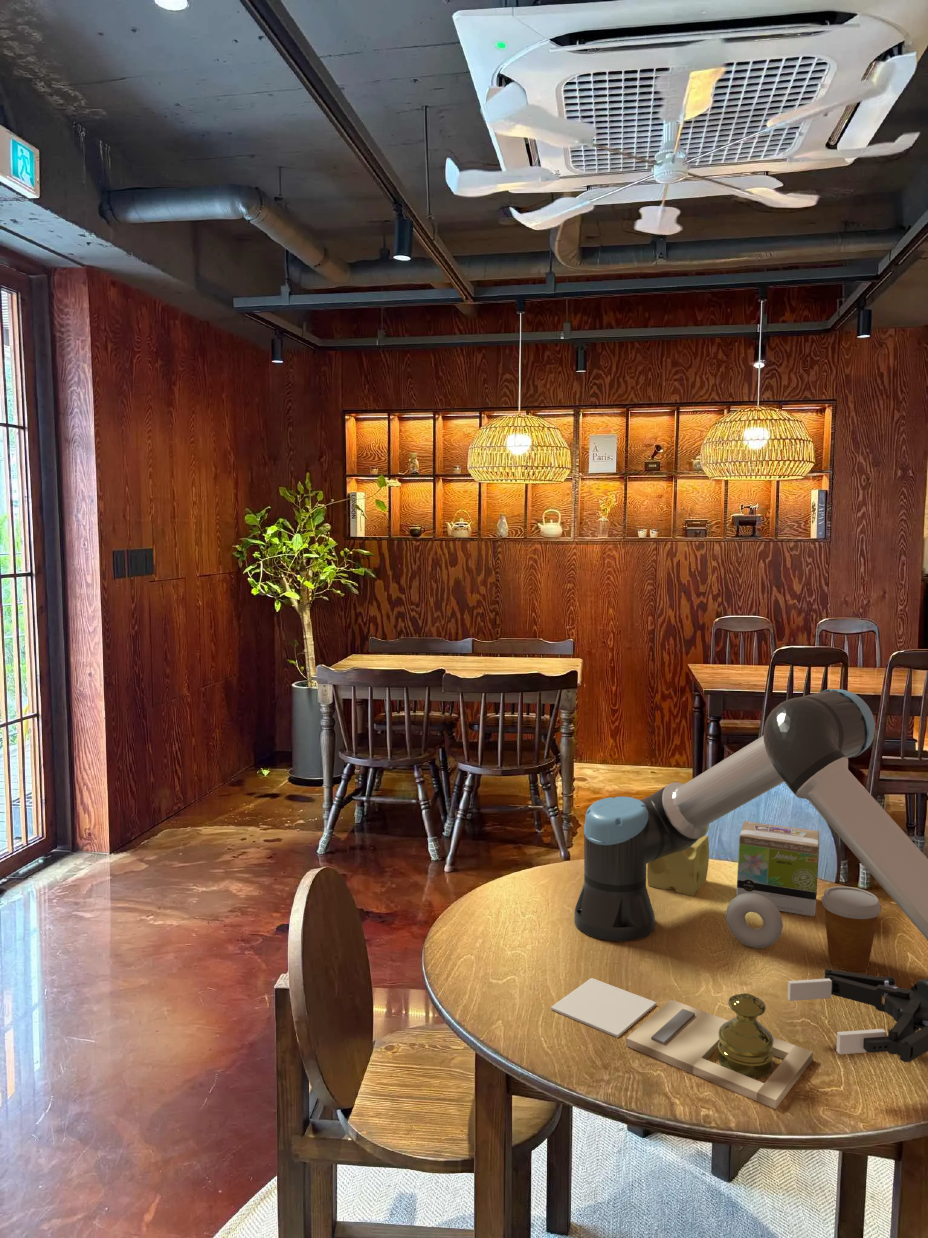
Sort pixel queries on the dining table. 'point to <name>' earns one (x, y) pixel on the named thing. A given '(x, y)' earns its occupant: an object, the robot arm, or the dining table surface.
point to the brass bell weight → (746, 1039)
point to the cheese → (681, 869)
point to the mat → (604, 1007)
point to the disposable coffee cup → (850, 926)
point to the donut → (763, 908)
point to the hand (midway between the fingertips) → (811, 1015)
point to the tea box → (779, 865)
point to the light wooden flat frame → (695, 1038)
